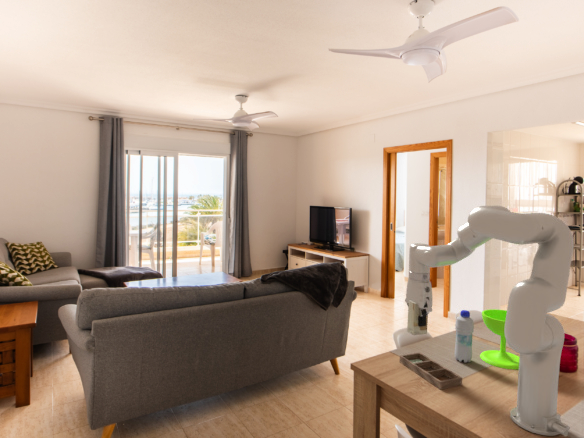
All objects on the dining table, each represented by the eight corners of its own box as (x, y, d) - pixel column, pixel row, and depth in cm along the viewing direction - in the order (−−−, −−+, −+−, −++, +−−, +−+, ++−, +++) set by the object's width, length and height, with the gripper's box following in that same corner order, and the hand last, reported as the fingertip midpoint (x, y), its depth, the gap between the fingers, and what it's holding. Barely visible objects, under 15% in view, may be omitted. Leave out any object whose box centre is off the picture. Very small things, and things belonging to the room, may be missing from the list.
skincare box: (413, 335, 141) (414, 303, 140) (406, 331, 145) (407, 300, 144) (428, 334, 143) (429, 302, 142) (420, 330, 147) (421, 299, 146)
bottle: (468, 357, 152) (470, 308, 151) (475, 364, 145) (477, 313, 144) (451, 356, 152) (453, 307, 151) (457, 363, 146) (459, 312, 145)
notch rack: (462, 384, 129) (462, 377, 129) (440, 389, 126) (440, 382, 126) (419, 358, 150) (419, 352, 150) (399, 361, 147) (399, 355, 147)
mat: (429, 366, 143) (429, 365, 143) (413, 369, 141) (413, 368, 141) (418, 359, 149) (418, 358, 149) (403, 362, 146) (403, 361, 146)
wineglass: (518, 354, 155) (520, 311, 154) (532, 371, 140) (535, 324, 139) (475, 349, 159) (477, 307, 158) (485, 366, 144) (487, 320, 142)
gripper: (443, 280, 136) (441, 330, 137) (412, 271, 152) (411, 316, 153) (426, 282, 133) (424, 332, 135) (397, 272, 149) (395, 318, 150)
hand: (417, 323), depth 144 cm, fingers closed on skincare box, 4 cm apart
